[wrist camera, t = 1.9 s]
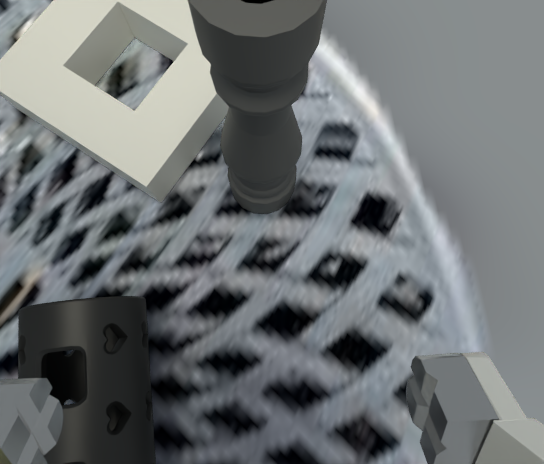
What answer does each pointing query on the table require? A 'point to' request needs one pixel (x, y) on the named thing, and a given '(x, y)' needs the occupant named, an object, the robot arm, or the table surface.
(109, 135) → the socket block
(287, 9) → the candle holder
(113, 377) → the muzzle brake
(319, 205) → the table surface
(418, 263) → the table surface
